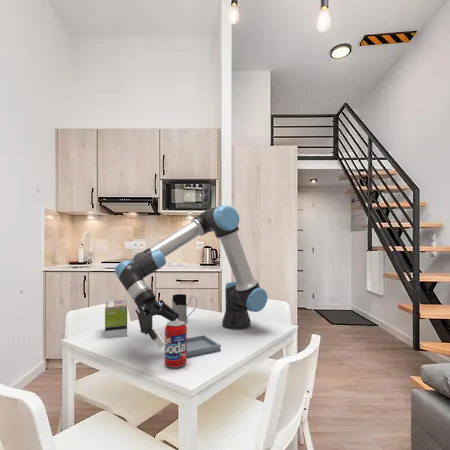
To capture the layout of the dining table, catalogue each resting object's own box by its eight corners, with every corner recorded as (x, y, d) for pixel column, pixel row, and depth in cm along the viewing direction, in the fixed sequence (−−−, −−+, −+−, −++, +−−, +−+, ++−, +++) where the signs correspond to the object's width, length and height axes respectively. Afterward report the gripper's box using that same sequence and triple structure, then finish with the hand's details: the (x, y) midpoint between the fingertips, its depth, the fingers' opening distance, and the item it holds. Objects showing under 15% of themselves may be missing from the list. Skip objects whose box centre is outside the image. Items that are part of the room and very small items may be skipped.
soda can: (186, 359, 112) (186, 319, 113) (186, 368, 104) (187, 325, 105) (165, 361, 111) (165, 320, 112) (164, 370, 103) (164, 326, 104)
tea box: (105, 330, 150) (105, 300, 151) (126, 328, 154) (126, 299, 155) (104, 339, 136) (105, 306, 137) (127, 336, 140) (127, 304, 141)
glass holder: (170, 321, 166) (170, 294, 167) (195, 319, 170) (195, 293, 171) (172, 326, 157) (172, 297, 158) (198, 323, 162) (198, 295, 163)
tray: (204, 340, 134) (204, 335, 134) (220, 351, 121) (220, 345, 121) (172, 346, 126) (172, 340, 127) (186, 358, 113) (186, 351, 114)
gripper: (157, 296, 127) (186, 336, 120) (112, 307, 105) (144, 358, 98) (167, 284, 125) (197, 324, 118) (123, 293, 103) (158, 344, 96)
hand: (174, 340), depth 108 cm, fingers open, 13 cm apart
